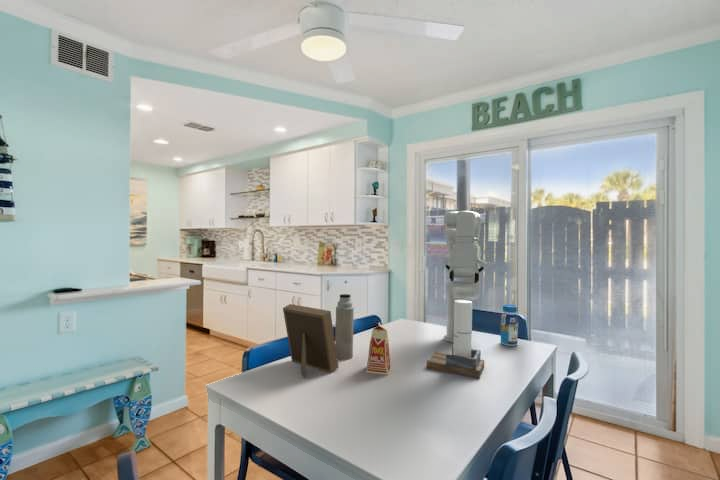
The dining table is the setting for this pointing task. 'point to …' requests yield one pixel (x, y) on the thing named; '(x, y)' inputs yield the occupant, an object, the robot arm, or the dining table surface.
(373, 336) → the milk carton
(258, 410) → the dining table surface
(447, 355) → the dock
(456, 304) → the cylindrical container
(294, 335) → the photo frame
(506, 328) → the beverage bottle
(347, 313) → the thermos bottle
